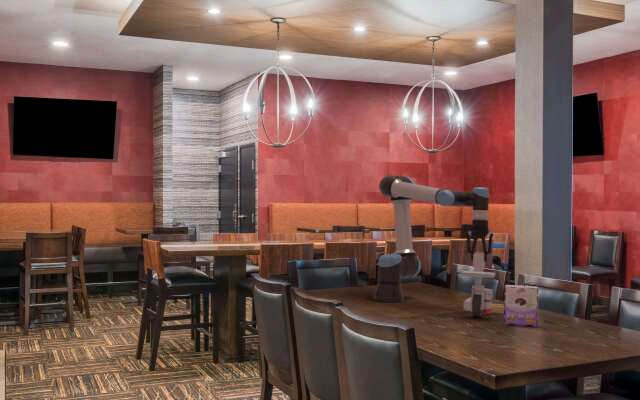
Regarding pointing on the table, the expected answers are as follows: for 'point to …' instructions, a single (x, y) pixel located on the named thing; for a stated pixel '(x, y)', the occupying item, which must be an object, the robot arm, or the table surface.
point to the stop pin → (478, 262)
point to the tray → (467, 304)
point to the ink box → (486, 300)
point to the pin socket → (498, 308)
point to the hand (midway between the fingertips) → (478, 267)
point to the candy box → (521, 305)
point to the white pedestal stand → (477, 300)
